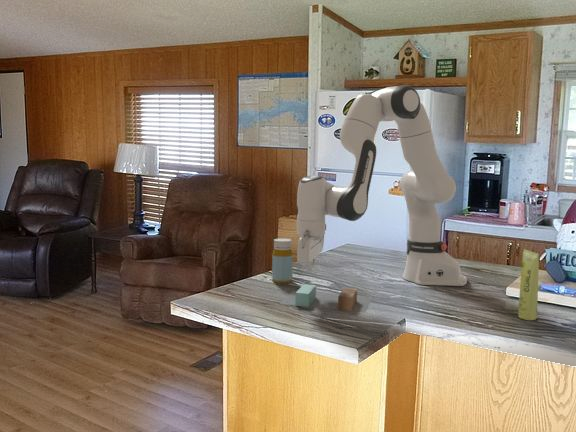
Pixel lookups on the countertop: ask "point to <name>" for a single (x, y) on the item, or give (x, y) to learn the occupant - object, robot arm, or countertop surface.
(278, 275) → the bottle
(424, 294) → the countertop surface
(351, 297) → the walnut block
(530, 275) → the tube
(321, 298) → the mat
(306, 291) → the teal block
